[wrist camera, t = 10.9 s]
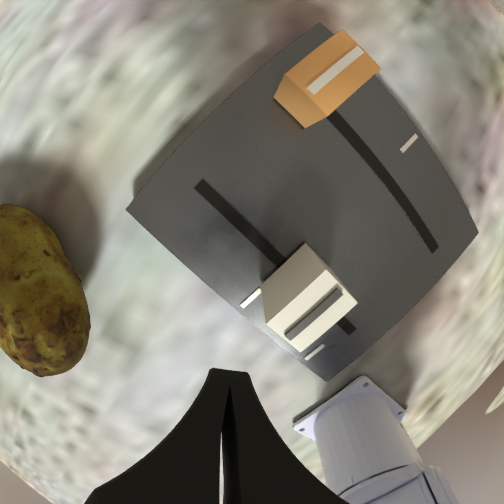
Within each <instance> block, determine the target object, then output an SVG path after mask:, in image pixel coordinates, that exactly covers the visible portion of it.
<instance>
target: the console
mask: <svg viewBox="0 0 504 504" xmlns="http://www.w3.org/2000/svg"><path fill="white" fill-rule="evenodd" d="M332 36H333V34H332V33H331V32H330V31H329V30H328V29H327V28H325V27H324V26H323V25H322V24H321V23H320V22H319V23H318V24H317V25H315V26H314V27H312V28H311V29H310V30H308V31H307V32H306V33H304V34H303V35H302V36H300V37H299V38H298V39H296V40H295V41H294V42H292V43H291V44H290V45H289V46H287V47H286V48H285V49H283V50H282V51H281V52H280V53H278V54H277V55H276V56H275V57H274V58H272V59H271V60H270V61H269V62H268V63H266V64H265V65H264V66H263V67H262V68H260V69H259V70H258V71H257V72H256V73H255V74H253V75H252V76H251V77H250V78H249V79H248V80H247V81H246V82H244V83H243V84H242V85H241V86H240V87H239V88H238V89H237V90H236V91H234V92H233V93H232V94H231V95H230V96H229V97H228V98H227V99H226V100H225V101H224V102H223V103H222V104H221V105H220V106H219V107H218V108H216V109H215V110H214V111H213V112H212V113H211V114H210V115H209V116H208V117H207V118H206V119H205V120H204V121H203V122H202V123H201V124H200V125H199V126H198V127H197V128H196V129H195V130H194V132H193V133H192V134H191V135H190V136H189V137H188V138H187V139H186V140H185V141H184V142H183V143H182V144H181V145H180V146H179V147H178V148H177V150H176V151H175V152H174V153H173V154H172V155H171V156H170V157H169V158H168V160H167V161H166V162H165V163H164V164H163V165H162V166H161V167H160V169H159V170H158V171H157V172H156V173H155V174H154V176H153V177H152V178H151V179H150V180H149V181H148V183H147V184H146V185H145V186H144V187H143V189H142V190H141V191H140V192H139V193H138V195H137V196H136V197H135V198H134V200H133V201H132V202H131V203H130V205H129V206H128V207H127V208H126V211H127V212H129V213H130V214H131V215H132V216H133V217H134V218H135V219H136V220H137V221H138V222H139V223H140V224H141V225H142V226H143V227H144V228H145V229H146V230H147V231H148V232H150V233H151V234H152V235H153V236H154V237H155V238H156V239H157V240H158V241H159V242H160V243H161V244H162V245H164V246H165V247H166V248H167V249H168V250H169V251H170V252H171V253H172V254H173V255H174V256H176V257H177V258H178V259H179V260H180V261H181V262H182V263H183V264H184V265H186V266H187V267H188V268H189V269H190V270H191V271H192V272H193V273H195V274H196V275H197V276H198V277H199V278H200V279H201V280H202V281H204V282H205V283H206V284H207V285H208V286H209V287H210V288H212V289H213V290H214V291H215V292H216V293H217V294H219V295H220V296H221V297H222V298H223V299H224V300H226V301H227V302H228V303H229V304H230V305H231V306H233V307H234V308H235V309H236V310H237V311H238V312H240V313H241V314H242V315H243V316H244V317H246V318H247V319H248V320H249V321H250V322H252V323H253V324H254V325H255V326H256V327H258V328H259V329H260V330H261V331H263V332H264V333H265V334H266V335H267V336H269V337H270V338H271V339H272V340H274V341H275V342H276V343H277V344H279V345H280V346H281V347H282V348H284V349H285V350H286V351H287V352H289V353H290V354H291V355H292V356H294V357H295V358H296V359H297V360H299V361H300V362H301V363H303V364H304V365H305V366H306V367H308V368H309V369H310V370H312V371H313V372H314V373H316V374H317V375H318V376H319V377H321V378H322V379H323V380H325V381H326V382H327V381H329V380H330V379H331V378H333V377H334V376H335V375H336V374H338V373H339V372H340V371H342V370H343V369H344V368H345V367H347V366H348V365H349V364H350V363H351V362H353V361H354V360H355V359H356V358H358V357H359V356H360V355H361V354H362V353H364V352H365V351H366V350H367V349H368V348H369V347H370V346H372V345H373V344H374V343H375V342H376V341H377V340H378V339H380V338H381V337H382V336H383V335H384V334H385V333H386V332H387V331H388V330H390V329H391V328H392V327H393V326H394V325H395V324H396V323H397V322H398V321H399V320H400V319H401V318H402V317H403V316H404V315H405V314H406V313H407V312H408V311H409V310H410V309H411V308H412V307H413V306H414V305H415V304H416V303H417V302H418V301H419V300H420V299H421V298H422V297H423V296H424V295H425V294H426V293H427V292H428V291H429V290H430V289H431V288H432V287H433V286H434V285H435V284H436V283H437V281H438V280H439V279H440V278H441V277H442V276H443V275H444V274H445V273H446V272H447V270H448V269H449V268H450V267H451V266H452V265H453V264H454V262H455V261H456V260H457V259H458V258H459V256H460V255H461V254H462V253H463V252H464V250H465V249H466V248H467V247H468V246H469V244H470V243H471V242H472V241H473V239H474V238H475V237H476V236H477V234H478V233H479V232H478V230H477V228H476V226H475V223H474V221H473V219H472V217H471V215H470V213H469V211H468V210H467V208H466V206H465V204H464V202H463V200H462V198H461V196H460V195H459V193H458V191H457V189H456V188H455V186H454V184H453V182H452V181H451V179H450V177H449V176H448V174H447V172H446V171H445V169H444V167H443V166H442V164H441V163H440V161H439V160H438V158H437V156H436V155H435V153H434V152H433V150H432V149H431V147H430V146H429V144H428V143H427V142H426V140H425V139H424V137H423V136H422V134H421V133H420V132H419V130H418V129H417V127H416V126H415V125H414V123H413V122H412V121H411V119H410V118H409V117H408V115H407V114H406V113H405V112H404V110H403V109H402V108H401V107H400V105H399V104H398V103H397V102H396V100H395V99H394V98H393V97H392V95H391V94H390V93H389V92H388V91H387V90H386V88H385V87H384V86H383V85H382V84H381V83H380V82H379V80H378V79H377V78H376V77H375V76H374V75H373V76H372V77H371V78H370V79H369V80H368V81H366V82H365V83H364V84H363V85H362V86H361V87H360V88H358V89H357V90H356V91H355V92H354V93H353V94H352V95H351V96H350V97H348V98H347V99H346V100H345V101H344V102H343V103H342V104H341V105H340V106H338V107H337V108H336V109H335V110H334V111H333V112H332V113H331V114H330V115H329V116H327V117H326V118H324V119H322V120H320V121H318V122H316V123H314V124H312V125H310V126H309V127H307V128H304V127H303V126H302V125H301V124H300V123H299V122H298V121H297V120H296V119H295V118H294V117H293V116H292V115H291V114H290V113H289V112H288V111H287V110H286V109H285V108H284V107H283V106H282V105H281V104H280V103H279V102H278V101H277V100H276V99H275V98H274V95H275V93H276V91H277V89H278V87H279V85H280V83H281V81H282V79H283V77H284V75H285V74H286V73H287V72H288V71H289V70H290V69H292V68H293V67H294V66H295V65H296V64H298V63H299V62H300V61H301V60H302V59H304V58H305V57H306V56H307V55H309V54H310V53H311V52H312V51H314V50H315V49H316V48H318V47H319V46H320V45H321V44H323V43H324V42H325V41H327V40H328V39H329V38H331V37H332ZM305 243H306V244H307V245H308V246H309V247H310V248H311V249H312V250H313V251H314V252H315V253H316V254H317V255H318V256H319V257H320V258H321V259H322V260H323V261H324V262H325V263H326V265H327V266H328V267H329V268H330V269H331V270H332V271H333V272H334V273H335V275H336V276H337V277H338V278H339V280H340V281H341V282H342V283H343V285H344V286H345V287H346V288H347V290H348V291H349V292H350V294H351V295H352V296H353V297H354V299H355V300H356V301H357V304H356V305H355V306H354V307H353V308H352V309H351V310H350V311H349V312H347V313H346V314H345V315H344V316H343V317H342V318H341V319H340V320H338V321H337V322H336V323H335V324H334V325H333V326H332V327H331V328H329V329H328V330H327V331H326V332H325V333H324V334H322V335H321V336H320V337H319V338H318V339H316V340H315V341H314V342H313V343H312V344H310V345H309V346H308V347H307V348H306V349H304V350H303V351H302V352H301V353H300V352H299V351H298V350H297V349H295V348H294V347H293V346H292V345H291V344H289V343H288V342H287V341H286V340H284V339H283V338H282V337H281V336H280V335H278V334H277V333H276V332H275V331H274V330H272V329H271V328H270V327H269V326H268V325H266V322H265V315H264V308H263V301H262V295H261V288H260V286H261V285H262V284H263V283H264V282H265V281H266V280H267V279H268V278H269V277H270V276H271V275H272V274H273V273H274V272H275V271H277V270H278V269H279V268H280V267H281V266H282V265H283V264H284V263H285V262H286V261H287V260H288V259H289V258H290V257H291V256H292V255H293V254H294V253H295V252H296V251H298V250H299V249H300V248H301V247H302V246H303V245H304V244H305Z"/></svg>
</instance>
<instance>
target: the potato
mask: <svg viewBox="0 0 504 504" xmlns="http://www.w3.org/2000/svg"><path fill="white" fill-rule="evenodd" d="M90 328H91V324H90V315H89V310H88V305H87V301H86V297H85V294H84V291H83V288H82V286H81V280H80V278H79V276H78V274H77V273H76V271H75V269H74V268H73V267H72V266H71V264H70V263H69V261H68V260H67V259H66V257H65V254H64V251H63V248H62V245H61V243H60V241H59V239H58V238H57V236H56V235H55V233H54V232H53V231H52V229H51V228H50V227H49V226H48V225H47V224H46V223H45V222H43V221H42V220H41V219H40V218H39V217H38V216H36V215H35V214H33V213H32V212H30V211H29V210H27V209H25V208H23V207H20V206H17V205H12V204H1V205H0V347H1V348H2V349H3V350H4V352H5V353H6V354H7V355H8V356H9V357H10V358H11V359H12V360H13V361H14V362H15V363H16V364H18V365H19V366H20V367H21V368H22V369H26V370H28V371H30V372H32V373H33V374H35V375H36V376H39V377H44V376H53V375H58V374H61V373H64V372H66V371H68V370H70V369H71V368H73V367H74V366H75V365H76V364H77V363H78V362H79V361H80V360H81V358H82V357H83V355H84V353H85V350H86V347H87V344H88V338H89V331H90Z"/></svg>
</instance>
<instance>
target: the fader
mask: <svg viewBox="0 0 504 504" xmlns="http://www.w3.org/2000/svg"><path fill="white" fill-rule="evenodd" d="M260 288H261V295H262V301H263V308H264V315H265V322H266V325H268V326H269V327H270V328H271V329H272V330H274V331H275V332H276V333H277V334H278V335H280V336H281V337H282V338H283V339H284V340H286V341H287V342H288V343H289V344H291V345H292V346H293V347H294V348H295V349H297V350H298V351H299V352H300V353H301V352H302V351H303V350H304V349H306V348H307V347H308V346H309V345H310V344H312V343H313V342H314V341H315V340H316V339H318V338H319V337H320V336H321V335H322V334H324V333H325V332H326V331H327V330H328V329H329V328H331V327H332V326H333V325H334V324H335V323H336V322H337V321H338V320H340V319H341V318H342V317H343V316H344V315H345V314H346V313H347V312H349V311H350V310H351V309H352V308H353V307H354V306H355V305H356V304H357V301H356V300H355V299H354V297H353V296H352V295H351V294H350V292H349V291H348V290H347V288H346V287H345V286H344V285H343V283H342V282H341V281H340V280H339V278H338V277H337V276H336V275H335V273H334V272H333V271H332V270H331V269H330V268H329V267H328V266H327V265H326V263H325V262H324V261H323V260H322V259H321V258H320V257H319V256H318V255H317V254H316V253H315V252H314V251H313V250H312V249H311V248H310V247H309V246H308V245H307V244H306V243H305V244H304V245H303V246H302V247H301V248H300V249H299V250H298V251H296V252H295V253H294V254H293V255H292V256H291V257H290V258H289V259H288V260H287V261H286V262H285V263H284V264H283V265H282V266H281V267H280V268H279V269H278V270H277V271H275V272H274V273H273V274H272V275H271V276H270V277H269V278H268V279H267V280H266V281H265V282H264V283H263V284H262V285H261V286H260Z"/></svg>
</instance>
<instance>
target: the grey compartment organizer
mask: <svg viewBox="0 0 504 504" xmlns="http://www.w3.org/2000/svg"><path fill="white" fill-rule="evenodd" d="M489 1H490V2H491V3H492V4H493V5H494V6H495V7H496V8H497V9H498V10H499V11H500V12H501V13H502V14H503V15H504V0H489Z"/></svg>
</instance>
